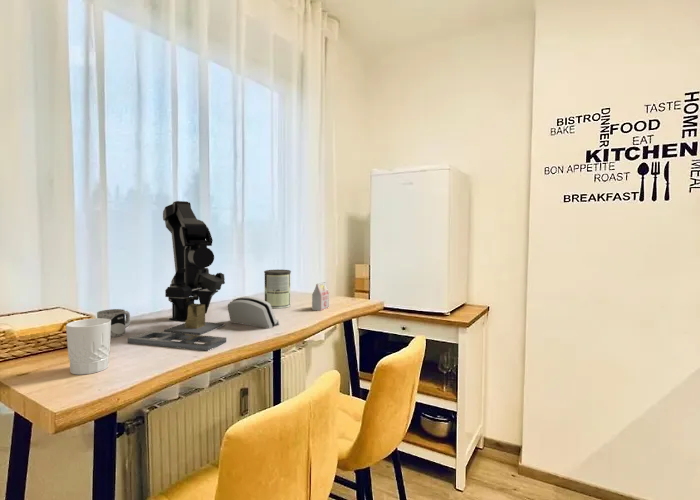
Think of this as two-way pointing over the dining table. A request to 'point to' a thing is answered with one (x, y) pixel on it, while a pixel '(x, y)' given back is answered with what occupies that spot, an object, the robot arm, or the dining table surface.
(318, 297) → the milk carton
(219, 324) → the rubber pad
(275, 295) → the coffee can
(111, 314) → the mug
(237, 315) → the grey rounded two-tone device
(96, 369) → the white cup
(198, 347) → the grey slotted frame
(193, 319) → the mustard yellow block
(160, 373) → the dining table surface
